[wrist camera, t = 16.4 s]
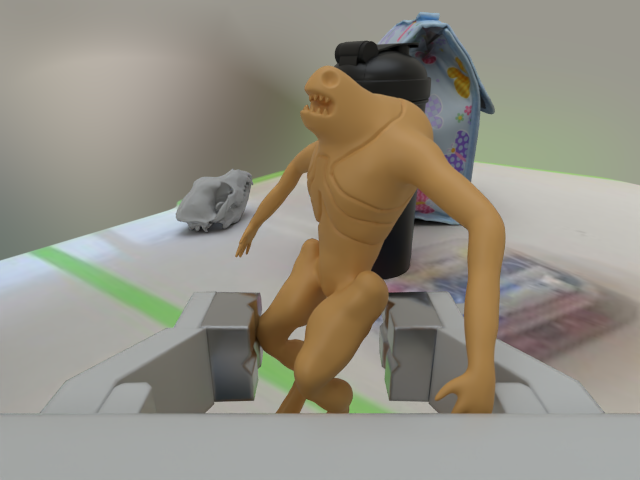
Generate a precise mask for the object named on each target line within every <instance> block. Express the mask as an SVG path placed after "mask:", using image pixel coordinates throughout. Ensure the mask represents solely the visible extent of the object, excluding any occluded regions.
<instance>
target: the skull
mask: <svg viewBox="0 0 640 480" xmlns="http://www.w3.org/2000/svg"><path fill="white" fill-rule="evenodd" d="M251 177H252V176H251V174H250V173H248V172H246V171H240V170H234V169H232V170H230V171H229V172H228V173H227V174H225V175H223V176H220V177H202V178H199V179H198V180H196V181H195V182H194V183H193V187H192V189H191V191H190V192H189V193H188V194H187V195H186V196H185V197H184V198H183V200H182V202H181V204H180V205H179V208H178V210H177V213H176V218H177V220H178V221H182V222H187V223H188V226H189V229H190V230H193V229H194V228H195V229H196V231H199V229H200V226H201V227H202V228H203V230H204V231H205V232H208V228H210V227H211V225H212V224H213V222H214V223H222V224H223V226H222V228H227V227H229V225H230V224H231V223H236V222H238V221H239V219H240V217H241V216H242V214H243V212H244V210H245V208H246V204H247V201H248V197H249V193H250V188H251V184H252V185H253V182H252V178H251ZM230 207H231V208H230Z"/></svg>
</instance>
